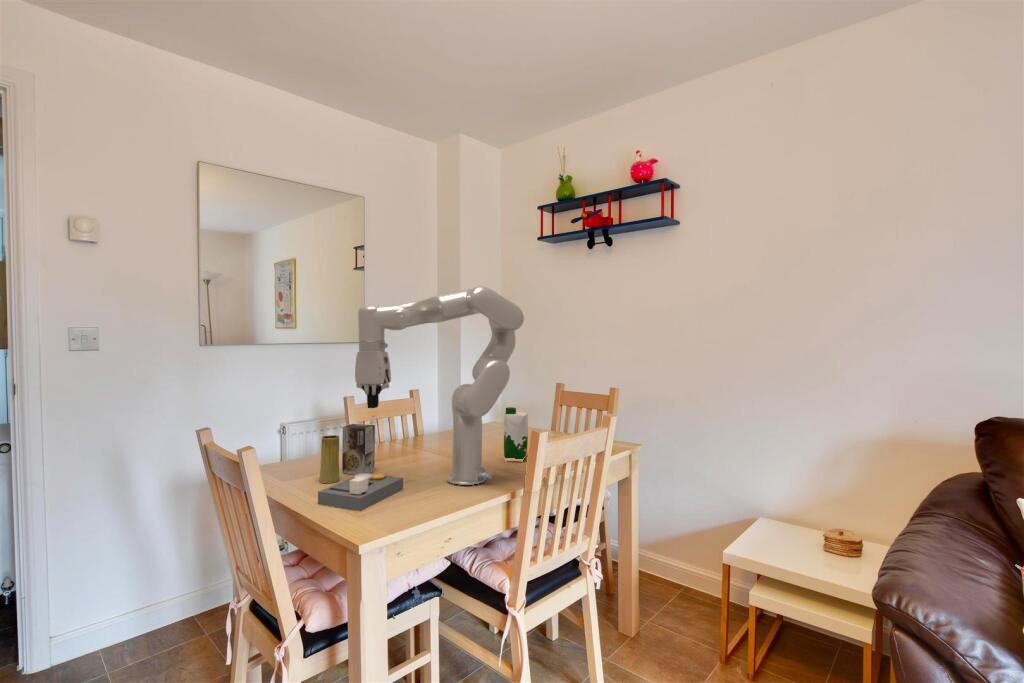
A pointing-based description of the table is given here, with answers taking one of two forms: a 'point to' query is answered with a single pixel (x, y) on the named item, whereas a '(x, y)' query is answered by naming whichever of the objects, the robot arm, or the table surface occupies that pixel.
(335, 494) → the panel
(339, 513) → the table surface
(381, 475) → the amber button
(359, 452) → the coffee box
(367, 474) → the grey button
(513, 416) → the milk carton
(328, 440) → the vase
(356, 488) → the white block
